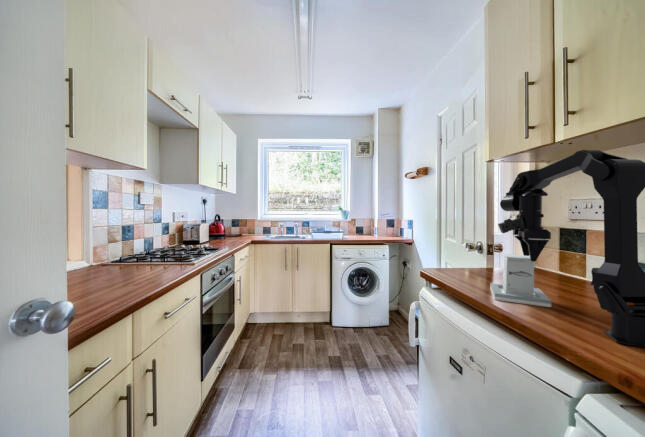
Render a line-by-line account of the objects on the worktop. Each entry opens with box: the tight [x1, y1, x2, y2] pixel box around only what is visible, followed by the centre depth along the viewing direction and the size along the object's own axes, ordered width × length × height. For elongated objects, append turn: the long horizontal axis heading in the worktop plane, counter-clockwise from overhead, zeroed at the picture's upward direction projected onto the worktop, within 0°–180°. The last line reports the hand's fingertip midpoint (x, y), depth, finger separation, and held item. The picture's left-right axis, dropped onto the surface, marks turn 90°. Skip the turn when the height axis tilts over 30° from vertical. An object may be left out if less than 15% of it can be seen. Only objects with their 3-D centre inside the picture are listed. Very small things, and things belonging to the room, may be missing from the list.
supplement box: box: [502, 253, 535, 297], centre depth 86 cm, size 7×7×13 cm
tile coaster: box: [489, 282, 552, 308], centre depth 86 cm, size 14×14×2 cm
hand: (529, 259), depth 84 cm, fingers open, 9 cm apart
